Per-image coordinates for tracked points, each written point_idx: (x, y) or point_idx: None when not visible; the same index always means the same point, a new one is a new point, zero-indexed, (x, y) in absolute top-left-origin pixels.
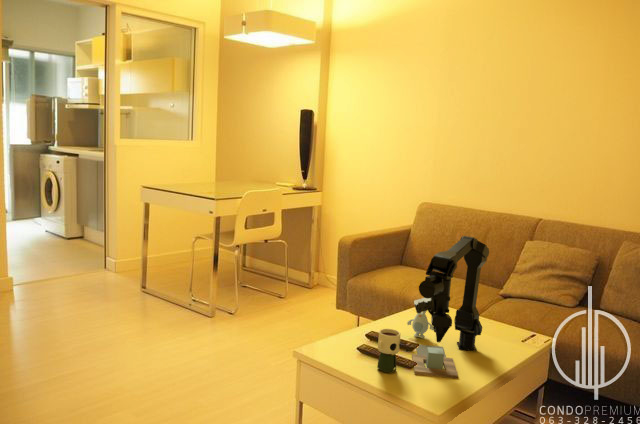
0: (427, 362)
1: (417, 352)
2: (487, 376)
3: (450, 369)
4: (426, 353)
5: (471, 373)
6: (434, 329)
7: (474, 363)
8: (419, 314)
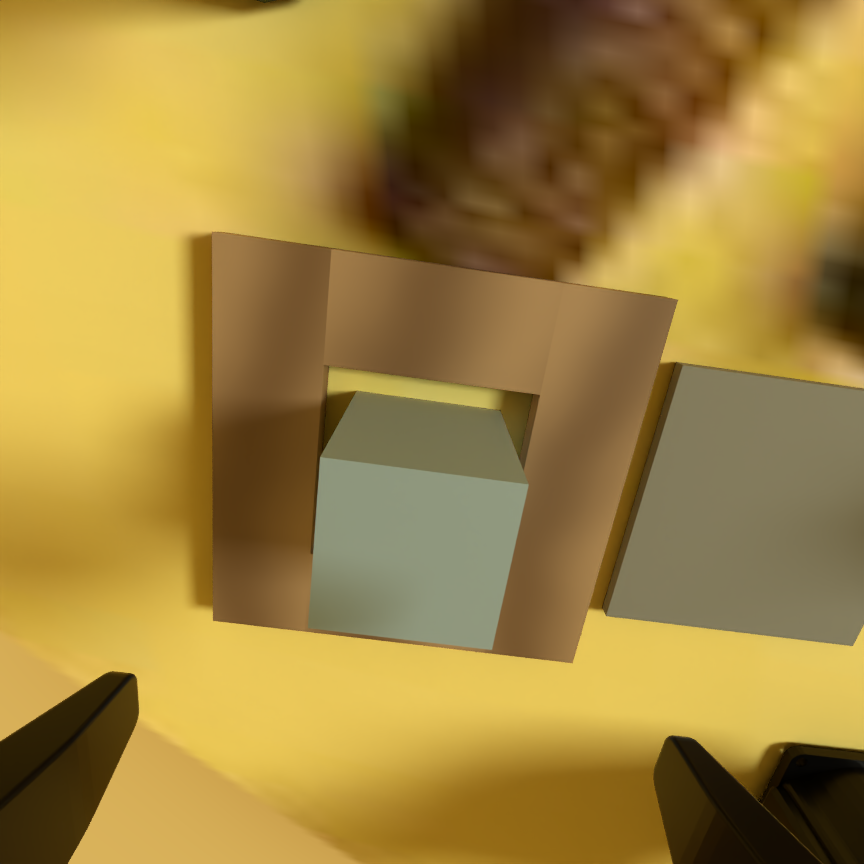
0: (372, 413)
1: (747, 377)
2: (306, 790)
3: None
4: (711, 465)
5: (338, 712)
6: (693, 788)
7: (521, 773)
8: None
